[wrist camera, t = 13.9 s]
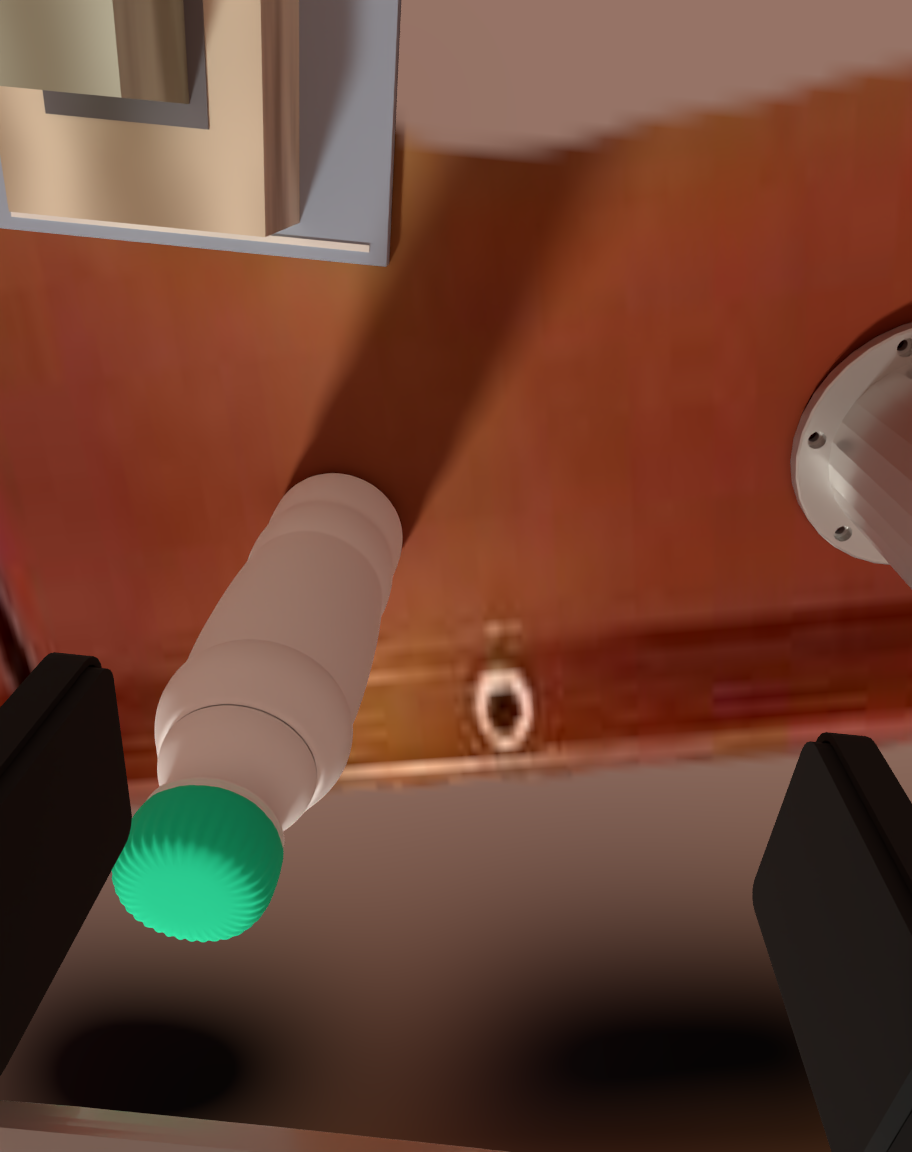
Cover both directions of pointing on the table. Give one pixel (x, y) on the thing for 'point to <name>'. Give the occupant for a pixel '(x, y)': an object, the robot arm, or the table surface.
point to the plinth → (173, 135)
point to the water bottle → (261, 711)
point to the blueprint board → (310, 147)
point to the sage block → (96, 47)
